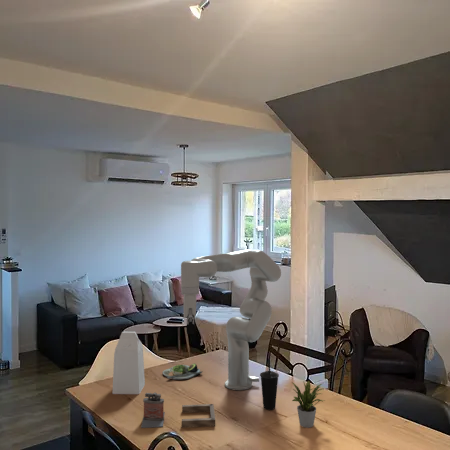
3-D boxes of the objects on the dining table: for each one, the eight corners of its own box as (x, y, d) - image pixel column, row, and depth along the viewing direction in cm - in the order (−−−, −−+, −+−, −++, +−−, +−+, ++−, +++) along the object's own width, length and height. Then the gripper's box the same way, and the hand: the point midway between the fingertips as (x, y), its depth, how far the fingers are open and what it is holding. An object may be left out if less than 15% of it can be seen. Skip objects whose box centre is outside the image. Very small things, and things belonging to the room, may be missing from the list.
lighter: (165, 417, 174) (164, 392, 174) (162, 421, 170) (162, 395, 170) (145, 416, 175) (144, 390, 175) (142, 420, 172) (142, 394, 171)
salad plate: (179, 385, 209) (179, 375, 209) (153, 377, 220) (153, 367, 220) (206, 374, 224) (206, 364, 224) (181, 366, 235) (181, 357, 235)
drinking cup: (278, 412, 179) (278, 362, 179) (258, 410, 181) (258, 361, 180) (279, 404, 187) (279, 356, 186) (261, 403, 188) (261, 355, 188)
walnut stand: (213, 410, 181) (213, 404, 181) (215, 426, 167) (215, 419, 167) (182, 411, 180) (182, 405, 180) (181, 427, 166) (181, 420, 166)
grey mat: (164, 413, 179) (164, 412, 179) (162, 427, 167) (162, 426, 167) (144, 413, 178) (144, 412, 178) (141, 427, 166) (141, 426, 166)
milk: (144, 384, 209) (144, 329, 209) (139, 394, 198) (139, 335, 197) (119, 384, 210) (118, 328, 209) (112, 393, 198) (111, 335, 198)
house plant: (334, 433, 162) (334, 388, 161) (297, 436, 160) (297, 390, 159) (319, 416, 176) (319, 374, 176) (285, 418, 174) (285, 376, 173)
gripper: (181, 287, 197) (182, 325, 198) (180, 294, 180) (181, 336, 181) (198, 286, 198) (199, 325, 198) (199, 293, 181) (200, 335, 181)
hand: (190, 330), depth 189 cm, fingers open, 9 cm apart
